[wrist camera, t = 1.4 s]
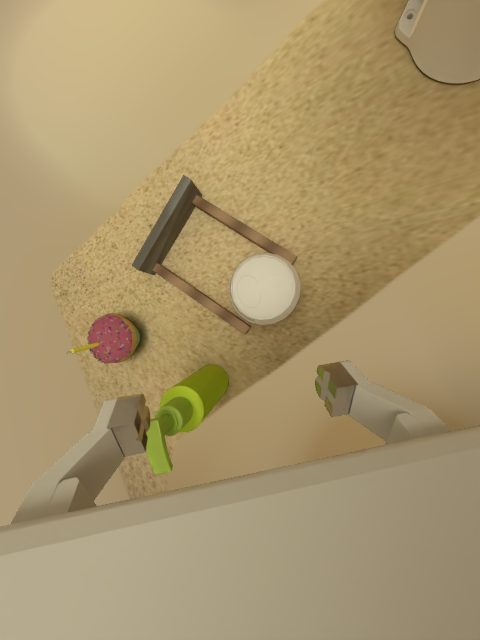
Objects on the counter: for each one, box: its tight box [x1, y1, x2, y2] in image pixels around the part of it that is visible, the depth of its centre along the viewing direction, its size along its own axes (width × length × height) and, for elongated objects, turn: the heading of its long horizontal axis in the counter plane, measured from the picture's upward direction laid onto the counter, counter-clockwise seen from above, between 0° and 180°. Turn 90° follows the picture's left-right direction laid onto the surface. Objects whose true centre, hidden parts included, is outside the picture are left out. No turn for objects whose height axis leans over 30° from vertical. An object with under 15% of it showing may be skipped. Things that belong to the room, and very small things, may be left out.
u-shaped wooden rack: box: [132, 175, 297, 334], centre depth 40 cm, size 22×16×5 cm
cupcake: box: [66, 313, 140, 364], centre depth 41 cm, size 9×8×12 cm
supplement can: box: [229, 253, 301, 325], centre depth 34 cm, size 8×8×15 cm
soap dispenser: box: [146, 365, 229, 474], centre depth 34 cm, size 6×7×20 cm
